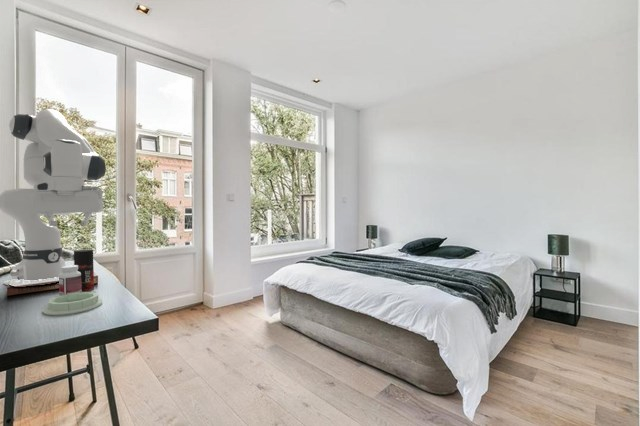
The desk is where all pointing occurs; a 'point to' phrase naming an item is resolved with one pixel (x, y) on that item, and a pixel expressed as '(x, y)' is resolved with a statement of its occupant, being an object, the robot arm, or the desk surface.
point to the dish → (72, 303)
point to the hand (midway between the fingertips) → (69, 225)
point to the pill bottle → (69, 280)
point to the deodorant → (85, 268)
